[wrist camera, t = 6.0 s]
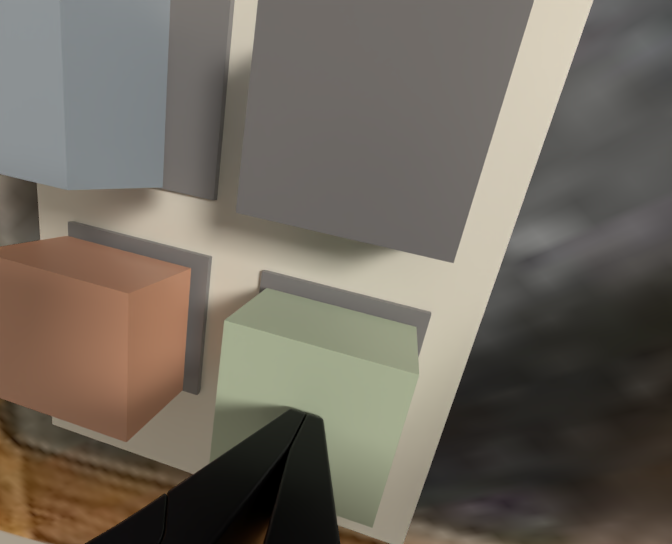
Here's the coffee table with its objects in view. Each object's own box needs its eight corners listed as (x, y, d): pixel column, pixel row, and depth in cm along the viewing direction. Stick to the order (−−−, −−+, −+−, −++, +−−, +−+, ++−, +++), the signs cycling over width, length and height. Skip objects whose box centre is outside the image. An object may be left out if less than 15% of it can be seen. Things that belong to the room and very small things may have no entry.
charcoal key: (497, 44, 8) (539, -17, 5) (441, 241, 9) (453, 263, 6) (305, 17, 8) (263, -50, 6) (278, 204, 9) (235, 212, 7)
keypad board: (600, -100, 8) (664, -192, 6) (402, 499, 14) (401, 553, 12) (81, -142, 11) (2, -222, 8) (93, 396, 16) (47, 427, 14)
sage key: (416, 326, 10) (419, 374, 7) (380, 452, 11) (372, 528, 9) (266, 287, 10) (224, 320, 8) (249, 410, 12) (208, 470, 9)
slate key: (171, -31, 7) (54, -135, 5) (162, 187, 8) (67, 190, 6) (-6, -53, 8) (-188, -156, 5) (11, 153, 9) (-129, 143, 7)
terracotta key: (191, 268, 11) (128, 293, 8) (182, 390, 12) (126, 442, 10) (67, 235, 11) (-25, 250, 9) (72, 354, 12) (-7, 395, 10)
